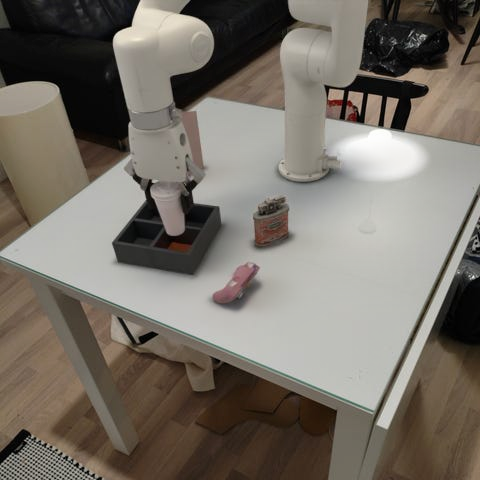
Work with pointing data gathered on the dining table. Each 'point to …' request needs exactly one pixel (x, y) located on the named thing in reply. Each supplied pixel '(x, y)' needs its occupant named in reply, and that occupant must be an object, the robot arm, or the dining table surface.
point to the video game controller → (237, 283)
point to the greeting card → (193, 136)
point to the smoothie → (169, 206)
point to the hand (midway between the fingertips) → (171, 207)
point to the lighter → (271, 222)
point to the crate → (167, 239)
